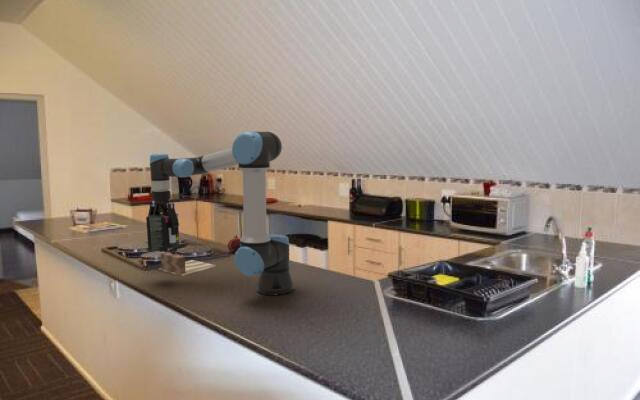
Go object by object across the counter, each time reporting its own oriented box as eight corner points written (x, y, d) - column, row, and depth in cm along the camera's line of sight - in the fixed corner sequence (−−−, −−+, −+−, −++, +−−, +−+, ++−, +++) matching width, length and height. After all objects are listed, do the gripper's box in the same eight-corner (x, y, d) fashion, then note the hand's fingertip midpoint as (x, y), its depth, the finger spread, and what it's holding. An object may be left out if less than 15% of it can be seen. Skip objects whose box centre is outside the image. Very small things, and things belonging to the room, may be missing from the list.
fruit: (242, 254, 262) (242, 236, 260) (225, 254, 263) (225, 236, 262) (247, 250, 271) (247, 233, 269) (231, 250, 272) (230, 232, 271)
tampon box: (167, 251, 204) (165, 217, 202) (147, 251, 206) (145, 216, 204) (180, 246, 215) (178, 213, 213) (161, 245, 217) (159, 212, 215)
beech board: (216, 266, 238) (216, 250, 237) (183, 276, 223) (182, 258, 221) (192, 261, 249) (191, 245, 248) (158, 269, 233) (158, 253, 232)
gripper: (186, 191, 203) (188, 242, 206) (151, 188, 217) (154, 236, 220) (171, 192, 197) (173, 246, 200) (136, 189, 211) (139, 239, 214)
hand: (163, 241), depth 210 cm, fingers closed on tampon box, 11 cm apart
